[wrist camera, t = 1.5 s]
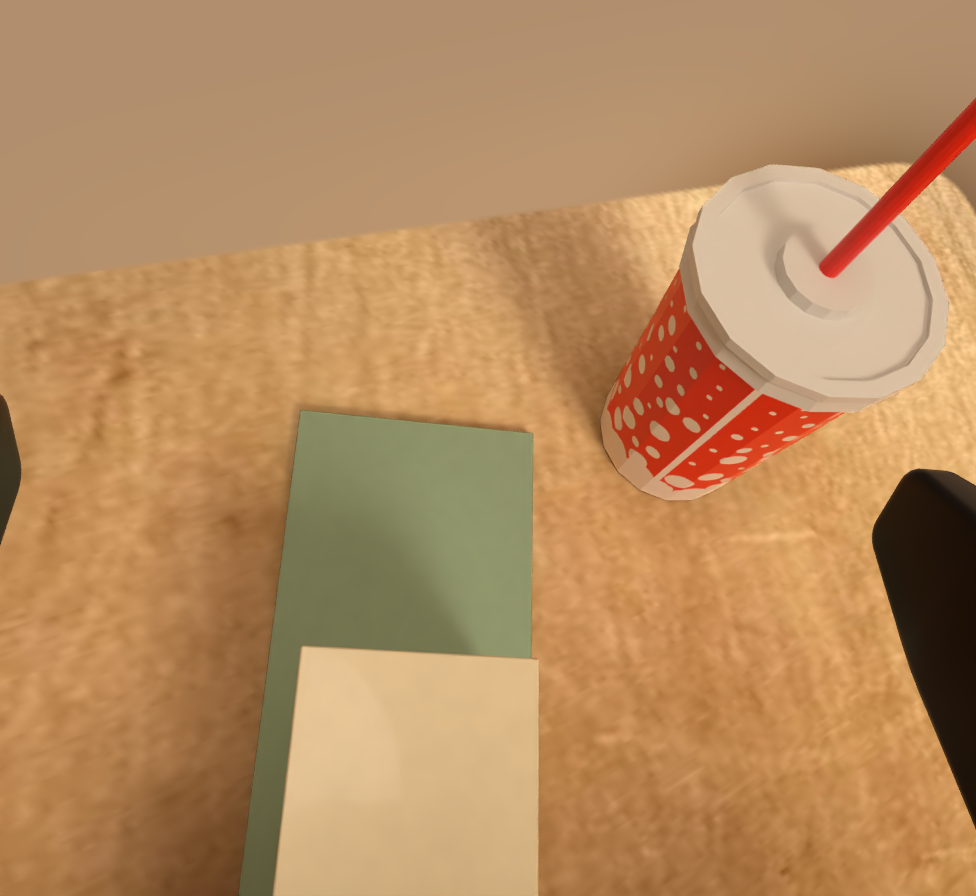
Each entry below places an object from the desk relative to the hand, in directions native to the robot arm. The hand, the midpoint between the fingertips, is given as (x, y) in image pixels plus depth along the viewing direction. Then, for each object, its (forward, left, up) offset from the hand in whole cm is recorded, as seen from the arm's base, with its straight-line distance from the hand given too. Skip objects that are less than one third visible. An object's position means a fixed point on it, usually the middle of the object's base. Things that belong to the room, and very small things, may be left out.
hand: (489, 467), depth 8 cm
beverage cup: (+2, -11, -15) cm, 19 cm away
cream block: (-3, +1, -15) cm, 15 cm away
